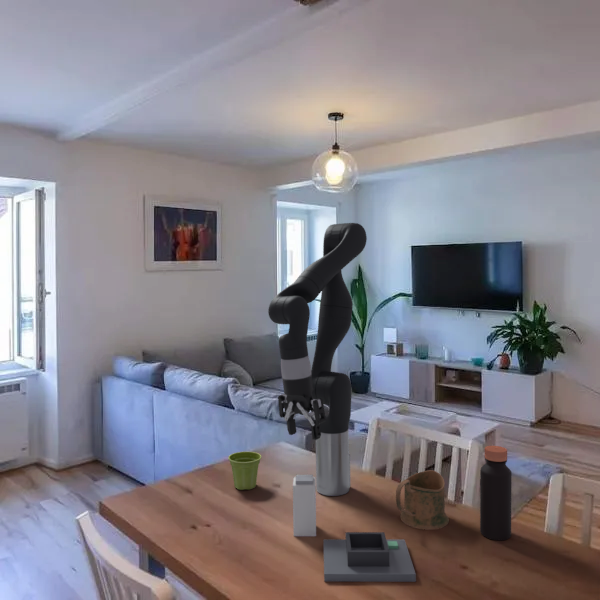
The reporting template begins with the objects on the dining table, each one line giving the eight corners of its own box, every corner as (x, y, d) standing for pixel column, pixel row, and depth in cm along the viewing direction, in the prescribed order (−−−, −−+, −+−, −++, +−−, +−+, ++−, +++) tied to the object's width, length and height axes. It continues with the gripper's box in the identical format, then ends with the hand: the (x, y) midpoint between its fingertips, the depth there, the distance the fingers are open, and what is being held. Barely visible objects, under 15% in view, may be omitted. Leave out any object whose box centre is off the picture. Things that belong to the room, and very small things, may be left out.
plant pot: (244, 477, 164) (243, 449, 164) (268, 484, 159) (268, 455, 158) (222, 488, 157) (221, 458, 156) (247, 495, 151) (246, 464, 151)
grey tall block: (294, 525, 133) (293, 473, 132) (316, 525, 133) (315, 473, 132) (293, 536, 128) (292, 482, 127) (316, 536, 127) (315, 482, 127)
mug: (377, 528, 131) (376, 479, 130) (416, 504, 144) (416, 459, 143) (420, 544, 123) (419, 491, 122) (457, 517, 136) (457, 470, 135)
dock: (324, 581, 109) (324, 559, 109) (323, 545, 123) (323, 526, 123) (415, 581, 108) (415, 559, 108) (404, 546, 122) (404, 526, 122)
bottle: (483, 524, 132) (484, 442, 131) (513, 531, 128) (514, 446, 127) (477, 536, 126) (477, 450, 125) (508, 543, 123) (508, 455, 121)
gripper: (327, 372, 137) (334, 436, 138) (287, 369, 147) (295, 427, 148) (306, 380, 131) (314, 446, 133) (266, 375, 141) (274, 436, 143)
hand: (304, 436), depth 141 cm, fingers open, 8 cm apart
